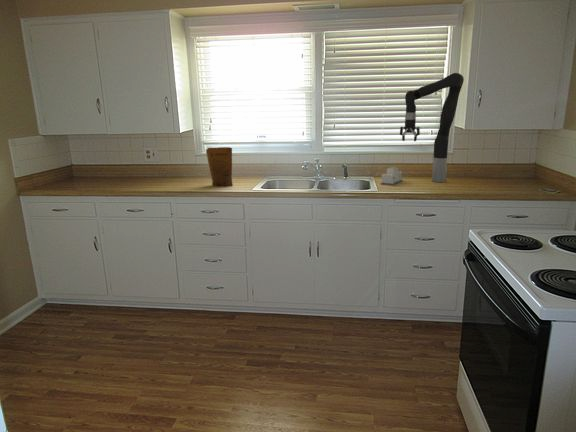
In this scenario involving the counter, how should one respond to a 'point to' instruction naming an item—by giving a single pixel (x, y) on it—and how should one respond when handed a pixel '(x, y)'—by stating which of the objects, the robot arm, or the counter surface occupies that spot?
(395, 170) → the block
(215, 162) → the pancake mix bag
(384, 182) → the rail
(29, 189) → the counter surface
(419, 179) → the counter surface
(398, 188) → the counter surface
